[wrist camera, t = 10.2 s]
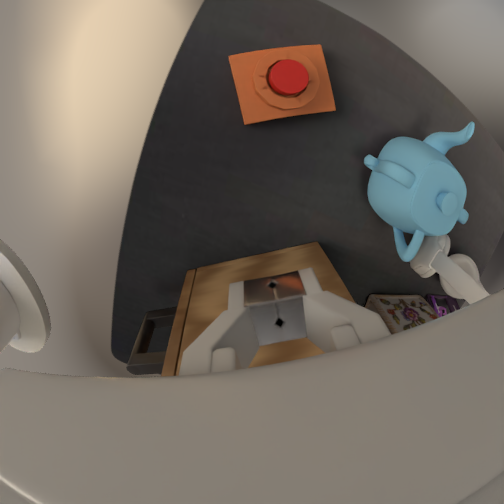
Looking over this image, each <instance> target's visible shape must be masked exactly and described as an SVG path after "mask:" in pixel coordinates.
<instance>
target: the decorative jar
mask: <svg viewBox="0 0 504 504" xmlns="http://www.w3.org/2000/svg"><path fill="white" fill-rule="evenodd" d="M364 308H367V309H369V310H371V311H373V312H375V313H378V314H379V315H380V316H381V318H382V320H383V321H384V323H385V324H386V326H387V328H388V329H389V331H390V333H391V335H392V334H395V333H398V332H401V331H404V330H407V329H410V328H413V327H416V326H419V325H421V324H424V323H427V322H429V321H432V320H435V319H437V318H440V317H439V316H438V314H437V313H436V312H435V311H434V310H433V308H432V307H431V306H430V305H429V304H428V303H427V302H426V301H425V299H424V298H423V297H422V296H420V295H376V294H372V295H369V298H368V300H367V303H366V305H365V307H364Z"/></svg>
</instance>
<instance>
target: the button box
mask: <svg viewBox="0 0 504 504" xmlns="http://www.w3.org/2000/svg"><path fill="white" fill-rule="evenodd" d="M286 59H291V60H295V61H298V62H299V63H301V64H302V65H303V66H304V67H305V68H306V70H307V72H308V75H309V81H308V84H307V86H306V87H305V89H303V90H302V91H301V92H298V93H296V94H294V95H282V94H280V93H278V92H276V91H275V90H274V89H273V88H272V87H271V85H270V82H269V73H270V71H271V69H272V68H273V67H274V65H275V64H276V63H278V62H279V61H282V60H286ZM229 63H230V67H231V71H232V75H233V79H234V83H235V87H236V91H237V95H238V99H239V104H240V108H241V112H242V116H243V121H244V125H247V124H252V123H257V122H262V121H267V120H272V119H278V118H284V117H290V116H297V115H304V114H311V113H319V112H328V111H336V108H335V103H334V98H333V93H332V88H331V84H330V79H329V75H328V71H327V67H326V63H325V59H324V55H323V51H322V47H321V45H304V46H292V47H282V48H274V49H266V50H259V51H253V52H247V53H242V54H236V55H232V56H229Z"/></svg>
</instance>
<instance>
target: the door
mask: <svg viewBox="0 0 504 504" xmlns="http://www.w3.org/2000/svg"><path fill="white" fill-rule="evenodd" d="M195 276H196V269H193V270H188V271H187V274H186V277H185V281H184V285H183V288H182V292H181V296H180V299H179V303H178V306H177V307H172V308H166V309H160V310H154V311H148V312H147V313H146V314H145V317H144V320H143V322H142V325H141V328H140V330H139V333H138V336H137V338H136V341H135V344H134V347H133V350H132V353H131V355H130V358H129V361H128V364H127V370H128V371H129V372H130V373H132V374H135V375H141V374H157V373H162V374H161V377H163V376H176V371H177V365H178V360H179V354H180V349H181V343H182V338H183V333H184V328H185V323H186V318H187V313H188V308H189V303H190V298H191V294H192V289H193V285H194V280H195ZM167 326H173V327H172V331H171V335H170V339H169V343H168V347H167V351H162V352H153V353H147V350H148V347H149V344H150V340H151V337H152V334H153V331H154V328H161V327H167Z"/></svg>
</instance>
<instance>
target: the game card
mask: <svg viewBox="0 0 504 504" xmlns="http://www.w3.org/2000/svg"><path fill="white" fill-rule="evenodd" d="M426 297H427V300H428V303H429V305H430V306H431V307H432V308H433V306H432V303H431V301H430V298H431V299H432V302H433V304H434V308H433V310H434V311H435V312H436V313H437V314H438V316H439V317H442V316H445V315H447V313H446V308H444V307H442V306H437V304H436V301H435V299H434V298H442V299H445V300H446V303H447V305H448V307H449V310H450V312H451V313H452V312H454V311H457V310H459V309H460V308H459V305H458V303H457V301H456V298H454V297H451V296H440V295H429V294H428V295H427V296H426Z"/></svg>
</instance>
